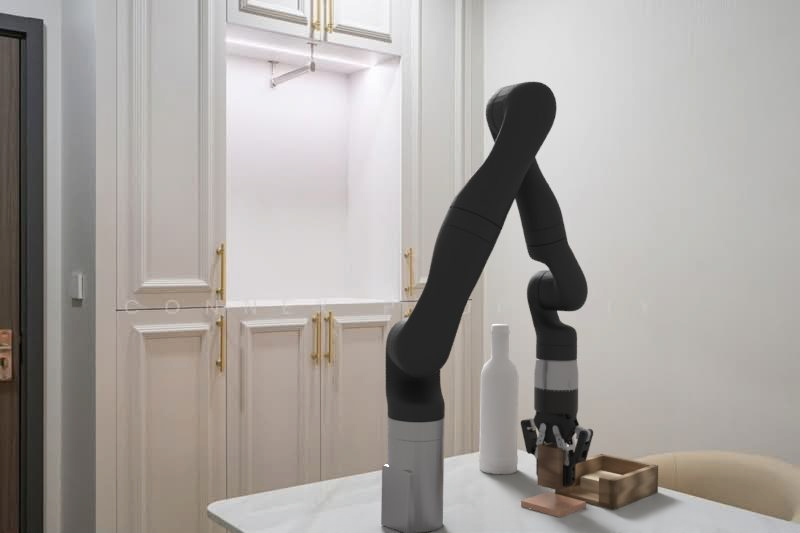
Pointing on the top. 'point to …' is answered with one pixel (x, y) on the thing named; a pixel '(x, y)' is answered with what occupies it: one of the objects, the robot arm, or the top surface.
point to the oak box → (612, 481)
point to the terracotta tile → (553, 504)
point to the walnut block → (550, 467)
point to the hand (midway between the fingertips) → (555, 482)
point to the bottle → (499, 407)
